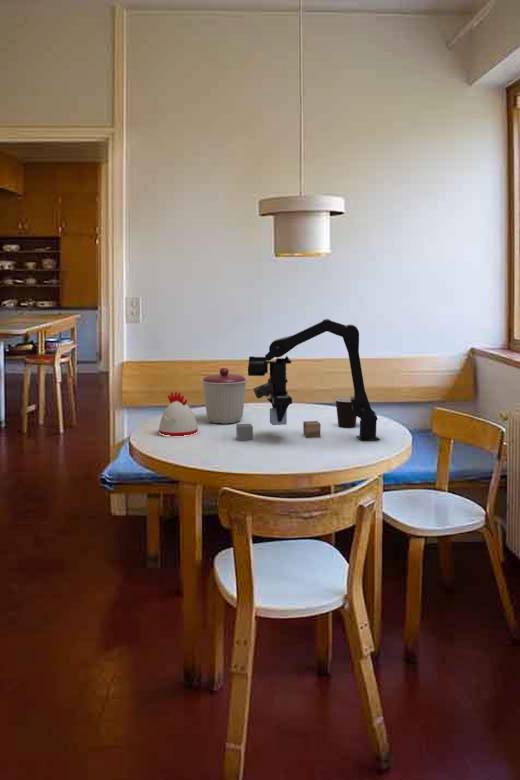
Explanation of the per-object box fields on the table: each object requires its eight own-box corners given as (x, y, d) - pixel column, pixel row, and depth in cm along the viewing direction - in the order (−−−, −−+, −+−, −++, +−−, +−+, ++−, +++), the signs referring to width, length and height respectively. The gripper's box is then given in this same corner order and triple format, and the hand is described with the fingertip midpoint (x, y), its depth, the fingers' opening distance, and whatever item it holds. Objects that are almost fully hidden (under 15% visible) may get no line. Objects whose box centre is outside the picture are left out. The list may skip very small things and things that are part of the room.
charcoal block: (252, 440, 255) (252, 426, 254) (238, 441, 254) (238, 427, 253) (250, 437, 260) (250, 423, 259) (236, 438, 259) (236, 424, 258)
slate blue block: (286, 424, 256) (286, 410, 255) (272, 425, 255) (272, 410, 254) (283, 421, 261) (283, 407, 260) (269, 422, 260) (269, 408, 259)
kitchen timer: (175, 427, 277) (174, 388, 275) (205, 431, 270) (204, 391, 268) (151, 434, 265) (150, 393, 263) (182, 438, 258) (181, 396, 256)
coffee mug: (351, 429, 271) (351, 402, 269) (331, 426, 276) (331, 400, 275) (366, 424, 280) (366, 398, 279) (346, 421, 285) (347, 396, 284)
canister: (247, 416, 297) (247, 364, 293) (248, 426, 279) (248, 370, 275) (202, 417, 296) (201, 365, 293) (200, 426, 278) (199, 371, 275)
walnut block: (320, 437, 259) (320, 423, 258) (306, 438, 258) (306, 424, 257) (316, 434, 263) (317, 420, 263) (303, 435, 263) (303, 421, 262)
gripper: (250, 373, 263) (251, 416, 265) (259, 380, 245) (259, 426, 247) (281, 372, 265) (281, 415, 267) (292, 379, 247) (292, 425, 249)
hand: (278, 420), depth 258 cm, fingers closed on slate blue block, 5 cm apart
